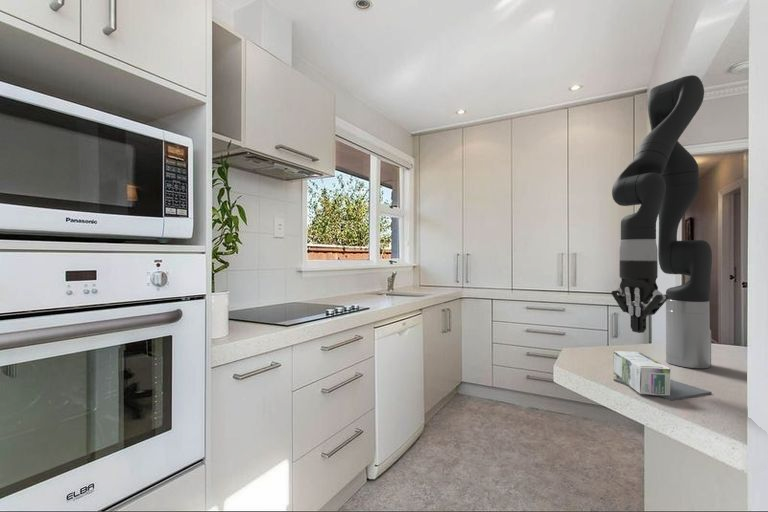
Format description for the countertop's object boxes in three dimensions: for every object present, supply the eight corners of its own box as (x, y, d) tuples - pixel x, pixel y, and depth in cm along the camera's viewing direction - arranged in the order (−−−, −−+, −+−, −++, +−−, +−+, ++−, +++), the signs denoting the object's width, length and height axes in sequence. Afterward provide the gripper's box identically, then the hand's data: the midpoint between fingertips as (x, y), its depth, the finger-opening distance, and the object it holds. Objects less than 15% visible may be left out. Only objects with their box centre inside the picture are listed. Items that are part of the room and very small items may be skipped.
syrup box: (638, 375, 92) (672, 396, 77) (611, 373, 93) (640, 395, 78) (638, 351, 92) (672, 368, 77) (611, 350, 93) (640, 367, 78)
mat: (650, 375, 93) (650, 373, 93) (711, 393, 80) (711, 391, 80) (613, 380, 89) (613, 378, 89) (671, 400, 76) (671, 398, 76)
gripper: (678, 259, 85) (678, 336, 85) (624, 258, 98) (624, 326, 98) (654, 259, 83) (654, 338, 83) (602, 258, 95) (602, 328, 95)
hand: (638, 331), depth 90 cm, fingers closed
